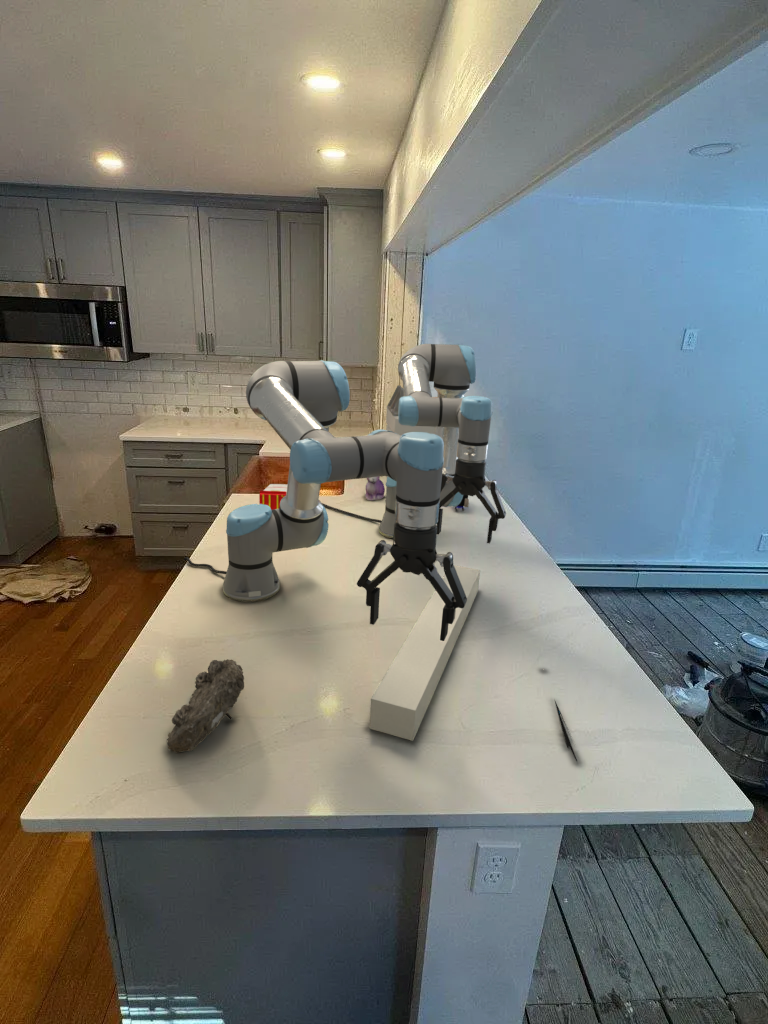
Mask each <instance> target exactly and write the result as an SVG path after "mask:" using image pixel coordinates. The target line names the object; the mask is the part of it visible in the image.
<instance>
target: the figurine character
mask: <svg viewBox="0 0 768 1024" xmlns="http://www.w3.org/2000/svg"><path fill="white" fill-rule="evenodd" d="M469 505H470V500H469V495H463V498H462V500H461V502H460V504H459V505H458V506H455V507H454V511H456V512H457V511H458V509H461V511H462V512H464V511H465V508H469Z"/></svg>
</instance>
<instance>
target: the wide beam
mask: <svg viewBox="0 0 768 1024" xmlns="http://www.w3.org/2000/svg"><path fill="white" fill-rule="evenodd" d="M454 567H455V569H456V572H457V575H458V577H459V580H460V582H461V585H462V587H463V590H464V592H465V595H466V597H467V602H466V604H465V606H464V608H456V612H455V619H454V621H453V623H452V624H448V634H447V636H446V638H445V640H444V641H441V640H440V635H441V625H442V614H443V608H444V606H445V603H444V601H443V600H442V599H441V597H440V596H439V594H438V593H437V591H436V590H435V589H434V591H433V593H432V594H431V596H430V597H429V599H428V601H427V603H426V605H425V606H424V607H423V610H422V611H421V612H420V614H419V616H418V618H417V620H416V621H415V623H414V625H413V627H412V628H411V630H410V631H409V633H408V635H407V637H406V638H405V640H404V641H403V643H402V645H401V647H400V648H399V650H398V652H397V654H396V655H395V657H394V659H393V660H392V661H391V663H390V665H389V667H388V668H387V670H386V672H385V673H384V675H383V677H382V679H381V681H380V682H379V684H378V685H377V687H376V689H375V690H374V693H372V696H371V697H370V703H369V704H370V707H369V729H370V730H373V731H377V732H380V733H384V734H388V735H391V736H395V737H397V738H402V739H404V740H408V741H412V742H413V741H414V740H415V738H416V735H417V733H418V730H419V729H420V726H421V724H422V721H423V719H424V717H425V715H426V712H427V710H428V709H429V708H428V707H429V706H430V703H431V701H432V698H433V696H434V695H435V694H434V693H435V691H436V689H437V688H438V685H439V682H440V680H441V678H442V675H443V674H444V671H445V669H446V666H447V664H448V663H449V662H448V661H449V659H450V657H451V654H452V652H453V650H454V647H455V645H456V643H457V641H458V638H459V636H460V634H461V631H462V630H463V627H464V624H465V622H466V620H467V618H468V615H469V613H470V611H471V608H472V606H473V604H474V601H475V600H476V597H477V595H478V592H479V584H480V574H481V569H477V568H472V567H467V566H461V565H455V564H454ZM441 578H442V579H443V580H444V582H445V583H446V585H447V586H448V588H449V589H450V590H451V588H450V585H449V583H448V580H447V578H446V575H445V573H444V574H443V575H442V576H441ZM451 592H452V590H451Z"/></svg>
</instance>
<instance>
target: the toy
mask: <svg viewBox="0 0 768 1024" xmlns="http://www.w3.org/2000/svg"><path fill="white" fill-rule="evenodd" d="M287 486H288V483H287V484H284V483H269V485H268V486H266V487H265V489H263V490H259V494H258V495H259V497H258V500H259V501H258V503H259V504H265V505H268V506H269V507H270V508H271V510H273V509H279V507H280V501H281V499H282V498H283V497H284V496H286V495H287ZM259 504H258V505H259Z"/></svg>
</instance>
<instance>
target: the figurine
mask: <svg viewBox="0 0 768 1024" xmlns="http://www.w3.org/2000/svg"><path fill="white" fill-rule="evenodd" d="M380 478H381V476H380V477H371V478H366V480H367V482H366V484H365V494H364V498H365V499H366V500H367V501H377V500H382V499H384V497H385V493H386V488H385V484H384V482H383V481H382V480H381V479H380Z"/></svg>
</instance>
